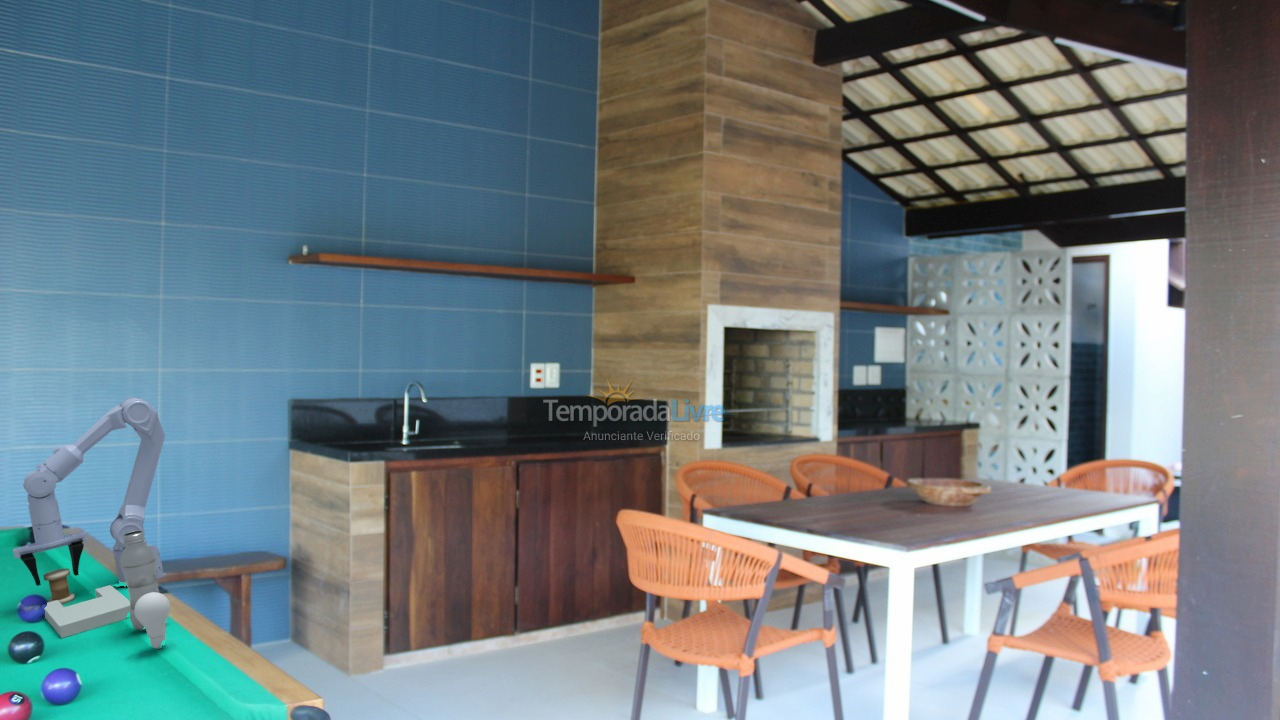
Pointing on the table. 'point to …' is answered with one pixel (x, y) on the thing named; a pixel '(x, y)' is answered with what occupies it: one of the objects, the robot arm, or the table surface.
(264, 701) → the table surface
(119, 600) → the notched board
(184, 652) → the table surface
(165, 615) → the lightbulb
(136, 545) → the plastic bottle
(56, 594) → the bobbin
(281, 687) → the table surface
